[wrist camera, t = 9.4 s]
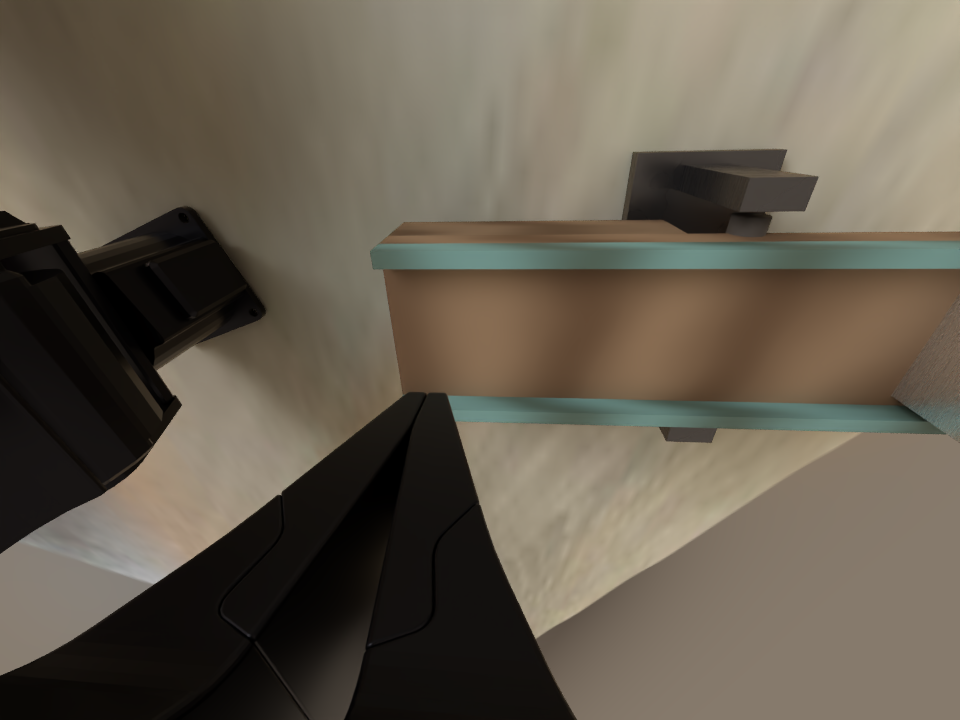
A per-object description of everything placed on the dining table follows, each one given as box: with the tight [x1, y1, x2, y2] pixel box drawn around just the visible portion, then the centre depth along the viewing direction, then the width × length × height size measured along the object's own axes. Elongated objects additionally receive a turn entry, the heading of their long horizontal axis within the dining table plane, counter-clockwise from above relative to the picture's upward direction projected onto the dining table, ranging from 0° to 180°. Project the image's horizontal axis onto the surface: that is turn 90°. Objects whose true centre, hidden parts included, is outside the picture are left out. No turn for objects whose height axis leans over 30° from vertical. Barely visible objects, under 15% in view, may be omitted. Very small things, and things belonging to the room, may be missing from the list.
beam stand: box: [622, 149, 818, 443], centre depth 17 cm, size 6×12×6 cm, turn 1°
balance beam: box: [370, 212, 960, 434], centre depth 15 cm, size 26×8×5 cm, turn 91°
